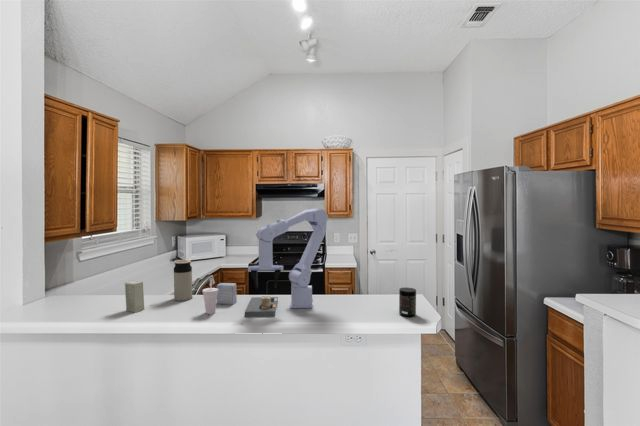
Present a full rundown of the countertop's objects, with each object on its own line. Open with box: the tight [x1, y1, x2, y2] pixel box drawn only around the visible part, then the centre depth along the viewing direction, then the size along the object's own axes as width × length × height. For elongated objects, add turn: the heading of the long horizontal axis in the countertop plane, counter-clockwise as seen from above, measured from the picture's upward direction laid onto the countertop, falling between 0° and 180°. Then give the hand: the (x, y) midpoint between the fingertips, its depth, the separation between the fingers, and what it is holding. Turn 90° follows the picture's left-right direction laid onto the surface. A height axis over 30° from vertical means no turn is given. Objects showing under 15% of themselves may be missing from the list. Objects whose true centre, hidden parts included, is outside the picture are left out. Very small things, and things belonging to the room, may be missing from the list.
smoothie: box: [202, 278, 218, 315], centre depth 144 cm, size 6×6×14 cm
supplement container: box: [398, 287, 417, 318], centre depth 141 cm, size 7×7×10 cm
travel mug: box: [173, 259, 193, 302], centre depth 164 cm, size 8×8×18 cm
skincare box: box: [124, 280, 145, 313], centre depth 147 cm, size 6×4×12 cm
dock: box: [244, 296, 279, 317], centre depth 150 cm, size 12×20×2 cm, turn 3°
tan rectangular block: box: [261, 295, 272, 309], centre depth 146 cm, size 4×4×6 cm
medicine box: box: [216, 282, 238, 305], centre depth 158 cm, size 8×4×9 cm, turn 84°
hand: (266, 288), depth 146 cm, fingers open, 7 cm apart
